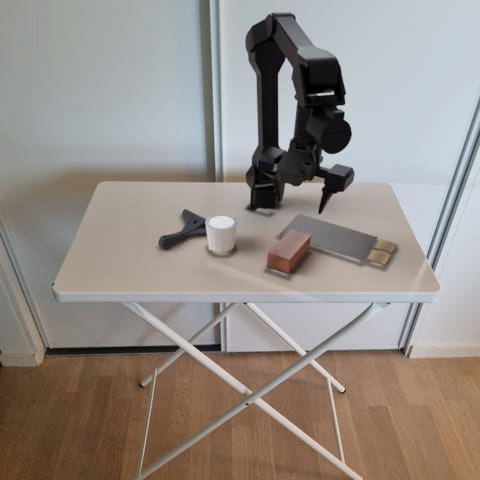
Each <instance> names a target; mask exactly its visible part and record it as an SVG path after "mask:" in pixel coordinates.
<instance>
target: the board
mask: <svg viewBox="0 0 480 480" xmlns="http://www.w3.org/2000/svg"><path fill="white" fill-rule="evenodd" d="M290 229H292V230H296V231H299V232H302V233H305V234H308V235H311V242H310V245H313V246H315V247H319V248H321V249H325V250H328V251H331V252H334V253H337V254H341V255H343V256H347V257H349V258H352V259H356V260H360V261H363V260H364V258H365V257H366V256H367V254H368V253H369V251H370V249H371V248H372V247H373V245H374V244H375V242H376V241H377V239H378V236H375V235H371V234H368V233H365V232H361V231H359V230H355V229H352V228H349V227H345V226H341V225H338V224H335V223H332V222H328V221H324V220H321V219H318V218H315V217H312V216H308V215H304V214H301V213H299V214H297V216H296V217H295V218H294V219H293V220H292V221H291V222H289V224H288V225H287V226H286V227H285V228H284V229H283V230H282V231H281V232H280V233H279V235H281V236H283V237H284V236H285V235H286V233H287V232H288V231H289V230H290Z"/></svg>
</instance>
